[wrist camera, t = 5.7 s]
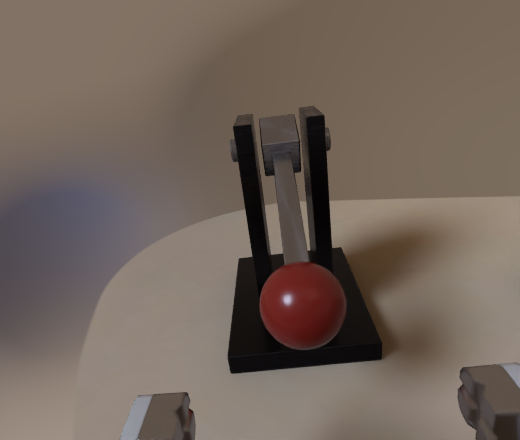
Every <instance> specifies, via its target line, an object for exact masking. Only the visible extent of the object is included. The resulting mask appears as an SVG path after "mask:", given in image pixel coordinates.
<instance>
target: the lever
mask: <svg viewBox="0 0 520 440" xmlns="http://www.w3.org/2000/svg"><path fill="white" fill-rule="evenodd" d="M259 124H260V135H261V147H262V154H263V161H264V169H265V175H266V176H273V175H274V176H275V185H276V194H277V202H278V211H279V220H280V229H281V237H282V246H283V255H284V264H285V265H284V266H282V267H280V268H278V269H277V270H276V271H274V272H273V273H272V274H271V275H270V277H269V278H268V279H267V281H266V282H265V284H264V286H263V288H262V291H261V295H260V303H259V307H260V314H261V318H262V321H263V323H264V325H265V327H266V329H267V330H268V332H269V333H270V334H271V335H272V337H273V338H275V339H276V340H277V341H278V342H280V343H281V344H283V345H285V346H287V347H290V348H293V349H297V350H311V349H315V348H319V347H321V346H323V345H325V344H326V343H328V342H330V341H331V340H332V339H333V338H334V337H335V336H336V335H337V334H338V332H339V331H340V329H341V327H342V325H343V323H344V320H345V316H346V297H345V294H344V290H343V288H342V286H341V284H340V283H339V281H338V279H337V278H336V277H335V276H334V275H333V274H332V273H331V272H330V271H329V270H327V269H326V268H324V267H322V266H321V265H318V264H315V263H312V262H309V256H308V250H307V244H306V239H305V233H304V227H303V221H302V215H301V209H300V203H299V198H298V191H297V186H296V180H295V174H294V173H297V172H301V158H300V140H299V135H298V130H297V125H296V120H295V116H294V114H290V115H282V116H274V117H266V118H260V119H259Z"/></svg>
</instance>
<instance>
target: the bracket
mask: <svg viewBox="0 0 520 440" xmlns="http://www.w3.org/2000/svg"><path fill="white" fill-rule="evenodd" d="M299 118H300V130H301V142H302V154H303V165H304V178H305V191H306V203H307V215H308V227H309V239H310V251H308V256H309V262H312V263H315V264H318V265H321V266H322V267H324V268H326V269H327V270H329V271H330V272H331V273H332V274H333V275H334V276H335V277H336V278H337V279H338V281H339V283H340V284H341V286H342V288H343V290H344V294H345V297H346V316H345V320H344V323H343V325H342V327H341V329H340V331H339V332H338V334H337V335H336V336H335V337H334V338H333V339H332V340H331V341H330V342H328V343H326V344H325V345H323V346H321V347H319V348H315V349H311V350H297V349H293V348H290V347H287V346H285V345H283V344H281V343H280V342H278V341H277V340H276V339H275V338H273V337H272V335H271V334H270V333H269V332H268V330H267V329H266V327H265V325H264V323H263V321H262V318H261V314H260V307H259V303H260V295H261V291H262V288H263V286H264V284H265V282H266V281H267V279H268V278H269V277H270V275H271V274H272V273H273V272H274V271H276V270H277V269H278V268H280V267H282V266H284V265H285V264H284V255H283V254H275V255H271V252H270V244H269V236H268V229H267V221H266V213H265V205H264V198H263V190H262V182H261V174H260V167H259V159H258V152H257V144H256V136H255V128H254V120H253V114H247V115H239V116H238V117H237V119H236V121H235V124H234V126H233V130H234V137H235V139H231V140H230V150H231V156H232V160H233V162H238V163H239V170H240V177H241V183H242V189H243V196H244V203H245V210H246V216H247V223H248V230H249V236H250V243H251V250H252V256H253V257H248V258H239V261H238V270H237V278H236V287H235V296H234V305H233V314H232V322H231V331H230V340H229V349H228V357H227V358H228V362H229V367H230V372H231V373H241V372H252V371H263V370H273V369H284V368H295V367H305V366H316V365H327V364H338V363H348V362H359V361H370V360H380V359H382V341H381V339H380V337H379V334H378V332H377V330H376V327H375V325H374V323H373V320H372V318H371V316H370V313H369V311H368V309H367V306H366V304H365V302H364V299H363V297H362V295H361V292H360V290H359V288H358V285H357V283H356V281H355V278H354V276H353V274H352V271H351V269H350V267H349V264H348V262H347V260H346V257H345V255H344V253H343V250H342V248H341V247H339V248H332V240H331V223H330V205H329V190H328V189H329V188H328V172H327V153H326V151H329V150H330V148H331V140H330V132H329V129H328V128H327V127H326V128H325V119H324V115H323V114H322V113H321V112H320V111H319V110H318V109H316V108H315V107H314V106H309V107H301V108H299Z"/></svg>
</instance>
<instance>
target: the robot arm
mask: <svg viewBox="0 0 520 440" xmlns="http://www.w3.org/2000/svg"><path fill="white" fill-rule="evenodd" d="M459 378H460V379H461V381H462V383H463V385H462V386H461V387H460V388H459V389H458V402H459V407H460V410H461V413H462V415H463V417H464V419H465V421H466V423H467V424H468V425H469V426H471V427H472V428H474V429H475V430H476V438H475V439H476V440H520V364H518V363H516V362H515V363H505V364H498V365H497V364H493V365H483V366H473V367H463V368H462V369H461V371H460V377H459ZM189 405H190V398H189V395H188V393H186V392H182V393H165V394H153V395H138V397H137V398H136V399H135V400H134V403H133V406H132V408H131V411H130V413H129V416H128V419H127V421H126V424H125V427H124V429H123V432H122V435H121V437H120V440H195V428H196V424H195V417H194V413H193V411H192V410H191V409H189Z"/></svg>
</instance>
